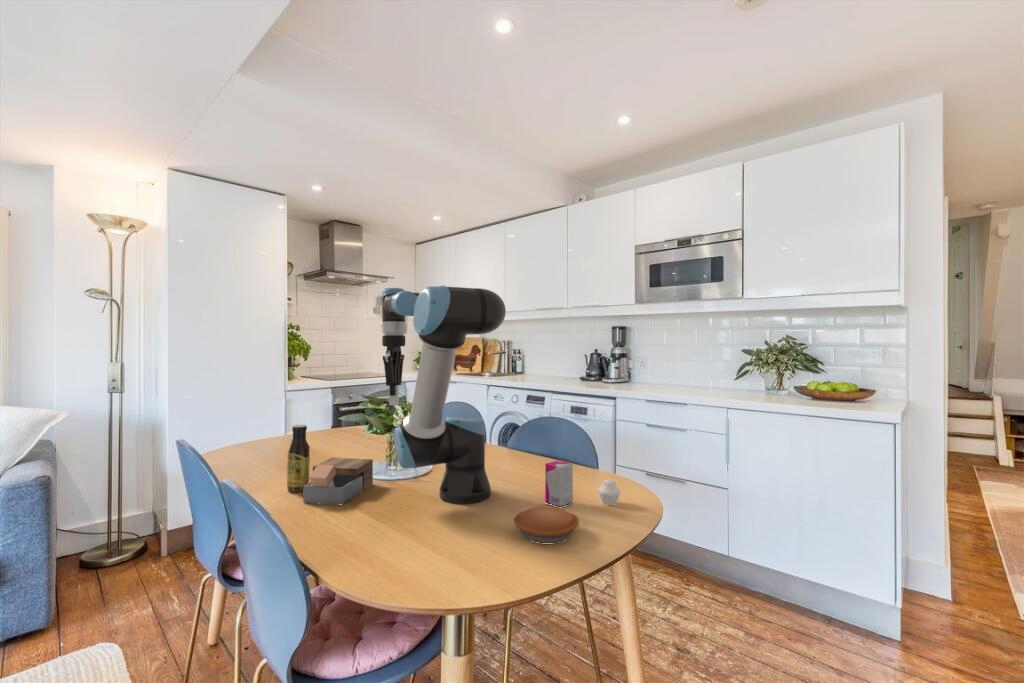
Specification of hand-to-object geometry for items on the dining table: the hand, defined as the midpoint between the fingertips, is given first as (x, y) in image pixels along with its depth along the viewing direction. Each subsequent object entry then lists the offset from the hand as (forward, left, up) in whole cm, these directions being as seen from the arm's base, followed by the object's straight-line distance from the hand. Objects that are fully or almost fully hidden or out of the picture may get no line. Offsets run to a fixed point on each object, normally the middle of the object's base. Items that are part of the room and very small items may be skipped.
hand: (394, 404), depth 158 cm
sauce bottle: (+24, +16, -25) cm, 38 cm away
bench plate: (+11, +14, -24) cm, 30 cm away
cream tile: (+12, +23, -20) cm, 32 cm away
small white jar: (-70, +15, -25) cm, 76 cm away
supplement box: (-56, +17, -25) cm, 63 cm away
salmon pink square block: (+11, +24, -18) cm, 32 cm away
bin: (+10, +21, -24) cm, 34 cm away
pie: (-54, +38, -25) cm, 71 cm away
